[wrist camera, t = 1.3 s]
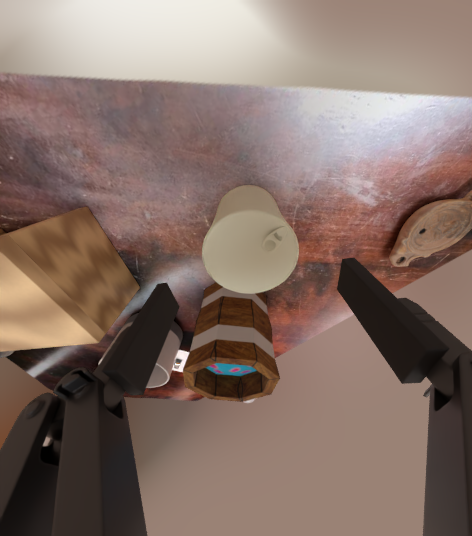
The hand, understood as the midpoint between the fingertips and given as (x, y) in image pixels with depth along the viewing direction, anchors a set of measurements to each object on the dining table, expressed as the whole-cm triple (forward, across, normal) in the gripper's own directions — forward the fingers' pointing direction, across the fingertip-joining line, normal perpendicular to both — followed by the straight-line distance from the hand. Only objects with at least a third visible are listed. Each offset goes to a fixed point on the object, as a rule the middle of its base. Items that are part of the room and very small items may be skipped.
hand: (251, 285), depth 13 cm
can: (+15, 0, 0) cm, 15 cm away
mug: (+16, -5, -20) cm, 26 cm away
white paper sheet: (+16, -26, -38) cm, 48 cm away
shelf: (+15, -32, -2) cm, 35 cm away
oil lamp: (+16, +25, -5) cm, 30 cm away
